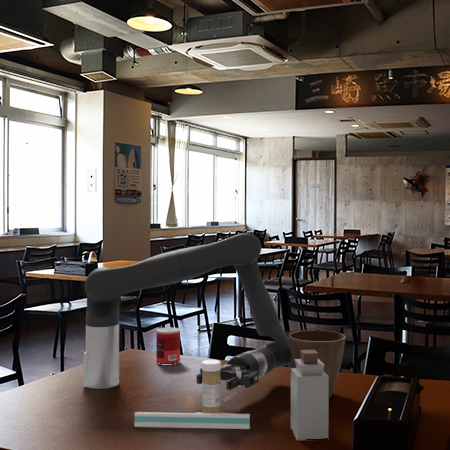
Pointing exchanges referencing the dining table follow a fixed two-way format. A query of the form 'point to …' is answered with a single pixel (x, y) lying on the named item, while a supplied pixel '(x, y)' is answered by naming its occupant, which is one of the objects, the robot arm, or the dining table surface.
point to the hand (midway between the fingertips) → (212, 382)
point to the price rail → (192, 420)
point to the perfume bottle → (309, 397)
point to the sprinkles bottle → (211, 386)
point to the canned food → (168, 345)
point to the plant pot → (321, 350)
